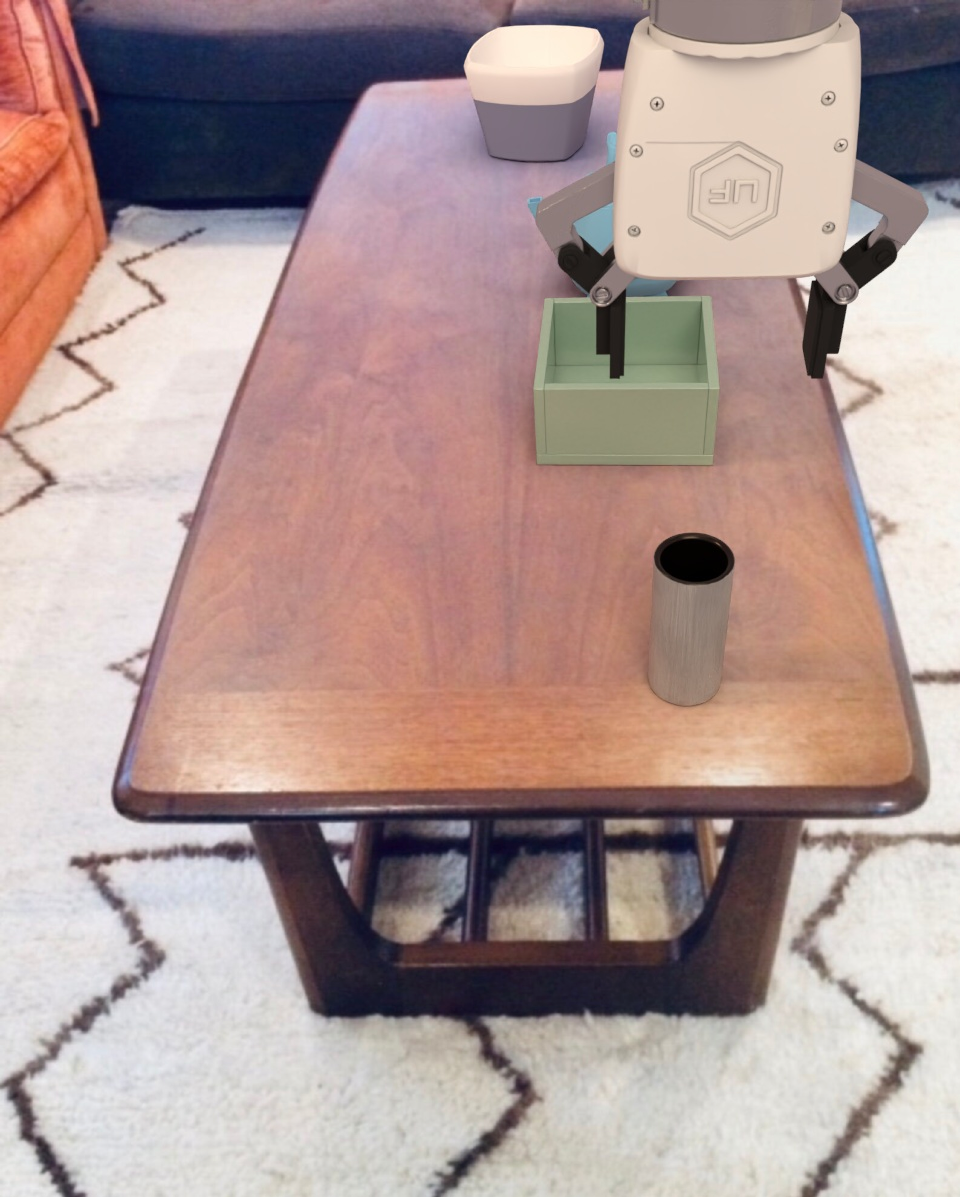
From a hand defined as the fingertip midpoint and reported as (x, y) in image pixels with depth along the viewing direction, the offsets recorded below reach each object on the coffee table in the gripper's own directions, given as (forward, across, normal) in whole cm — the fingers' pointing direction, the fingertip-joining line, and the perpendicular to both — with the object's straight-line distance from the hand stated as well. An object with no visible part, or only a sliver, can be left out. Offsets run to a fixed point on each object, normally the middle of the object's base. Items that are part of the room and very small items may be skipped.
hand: (713, 364), depth 55 cm
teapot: (+22, -6, +49) cm, 54 cm away
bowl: (+22, -16, +84) cm, 88 cm away
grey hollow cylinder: (+22, 0, -2) cm, 22 cm away
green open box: (+22, -4, +27) cm, 35 cm away
